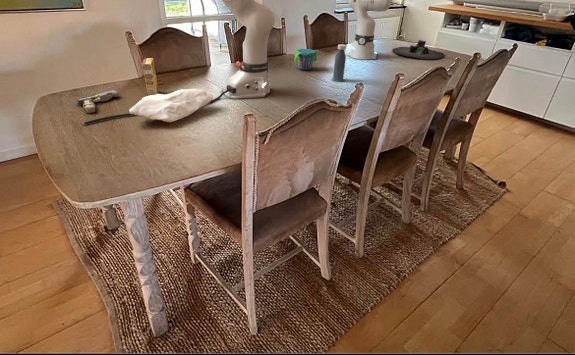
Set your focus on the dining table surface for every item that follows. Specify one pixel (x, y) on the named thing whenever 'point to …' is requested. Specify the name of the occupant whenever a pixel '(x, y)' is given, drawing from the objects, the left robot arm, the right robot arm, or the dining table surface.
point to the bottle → (339, 66)
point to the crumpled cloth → (171, 104)
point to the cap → (341, 46)
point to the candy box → (150, 76)
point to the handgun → (95, 100)
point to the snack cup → (305, 58)
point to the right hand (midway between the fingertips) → (363, 2)
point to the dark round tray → (418, 51)
